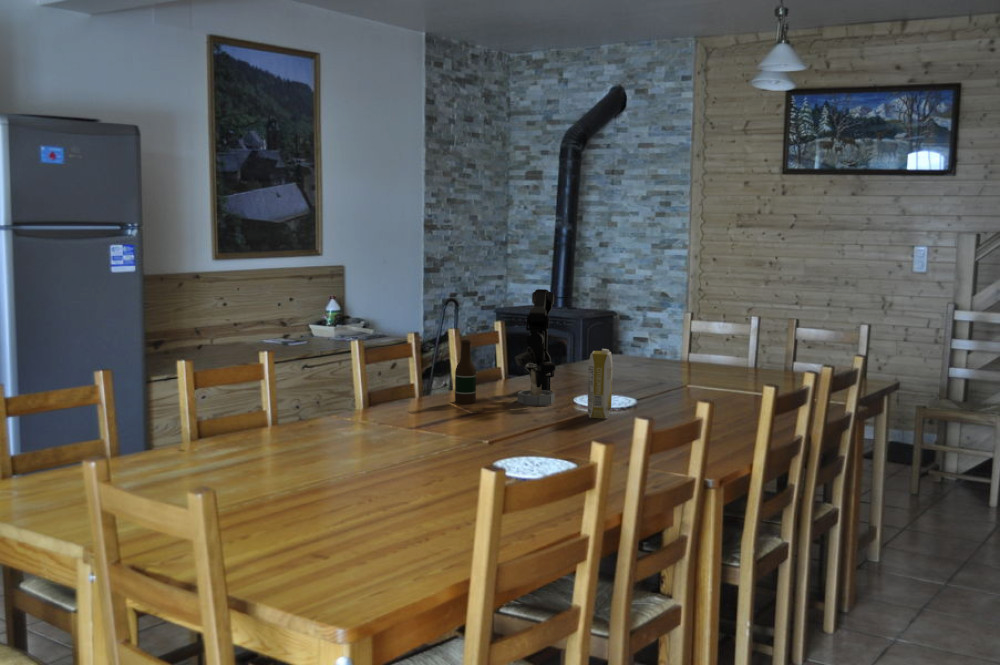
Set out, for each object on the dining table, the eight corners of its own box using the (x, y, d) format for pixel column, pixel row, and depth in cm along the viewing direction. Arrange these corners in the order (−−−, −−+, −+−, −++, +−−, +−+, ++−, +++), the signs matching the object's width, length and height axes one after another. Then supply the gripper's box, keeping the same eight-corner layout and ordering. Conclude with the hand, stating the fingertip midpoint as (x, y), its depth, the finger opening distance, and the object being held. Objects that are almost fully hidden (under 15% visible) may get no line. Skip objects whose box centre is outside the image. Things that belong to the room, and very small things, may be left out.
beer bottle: (476, 402, 371) (477, 338, 368) (474, 406, 363) (475, 341, 360) (456, 401, 371) (457, 338, 368) (453, 405, 364) (454, 340, 361)
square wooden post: (537, 394, 372) (538, 368, 371) (541, 395, 369) (541, 369, 368) (530, 395, 371) (531, 368, 369) (534, 396, 368) (534, 370, 367)
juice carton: (609, 419, 342) (611, 351, 339) (586, 418, 344) (588, 350, 341) (611, 414, 351) (613, 347, 349) (589, 413, 353) (591, 346, 350)
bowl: (542, 399, 379) (542, 388, 378) (559, 405, 367) (559, 394, 367) (512, 401, 373) (512, 391, 373) (528, 407, 362) (529, 397, 361)
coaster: (503, 396, 382) (503, 395, 382) (513, 400, 374) (513, 399, 374) (482, 398, 378) (482, 396, 378) (492, 402, 370) (492, 401, 370)
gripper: (506, 343, 372) (505, 384, 374) (529, 349, 356) (529, 392, 358) (532, 341, 377) (531, 382, 379) (556, 348, 361) (555, 390, 363)
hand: (536, 386), depth 370 cm, fingers closed on square wooden post, 3 cm apart
